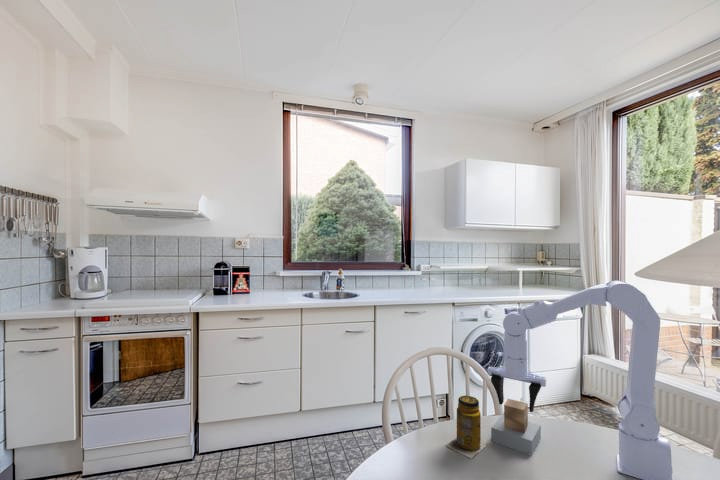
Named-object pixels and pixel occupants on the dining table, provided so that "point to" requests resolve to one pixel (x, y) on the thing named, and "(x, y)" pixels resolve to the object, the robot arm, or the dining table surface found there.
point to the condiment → (468, 427)
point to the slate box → (516, 436)
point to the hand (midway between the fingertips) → (516, 406)
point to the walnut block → (516, 415)
